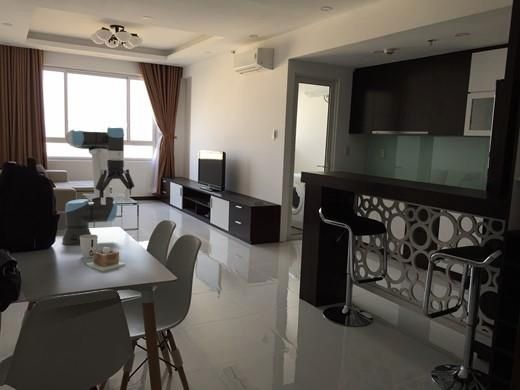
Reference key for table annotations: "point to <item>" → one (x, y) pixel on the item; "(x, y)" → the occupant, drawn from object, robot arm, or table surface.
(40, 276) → the table surface
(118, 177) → the robot arm
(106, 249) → the peg stand
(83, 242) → the cup
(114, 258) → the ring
